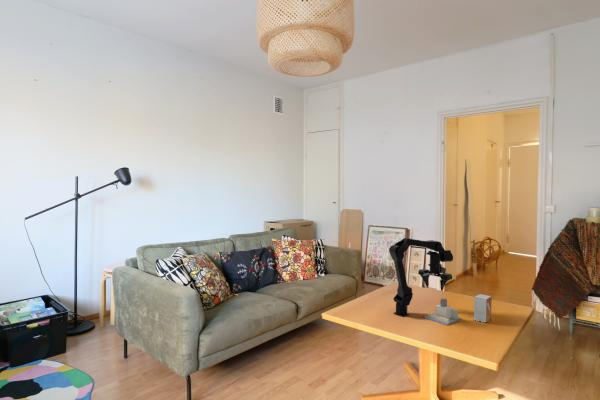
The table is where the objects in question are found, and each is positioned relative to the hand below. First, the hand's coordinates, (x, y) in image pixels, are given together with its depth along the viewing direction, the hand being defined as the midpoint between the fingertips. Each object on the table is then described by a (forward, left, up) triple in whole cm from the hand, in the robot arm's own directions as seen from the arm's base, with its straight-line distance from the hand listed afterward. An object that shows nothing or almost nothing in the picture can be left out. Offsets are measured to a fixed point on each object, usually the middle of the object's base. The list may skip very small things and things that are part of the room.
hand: (434, 289), depth 207 cm
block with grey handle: (-7, -10, -12) cm, 17 cm away
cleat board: (-8, -10, -13) cm, 18 cm away
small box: (+8, -24, -13) cm, 28 cm away
